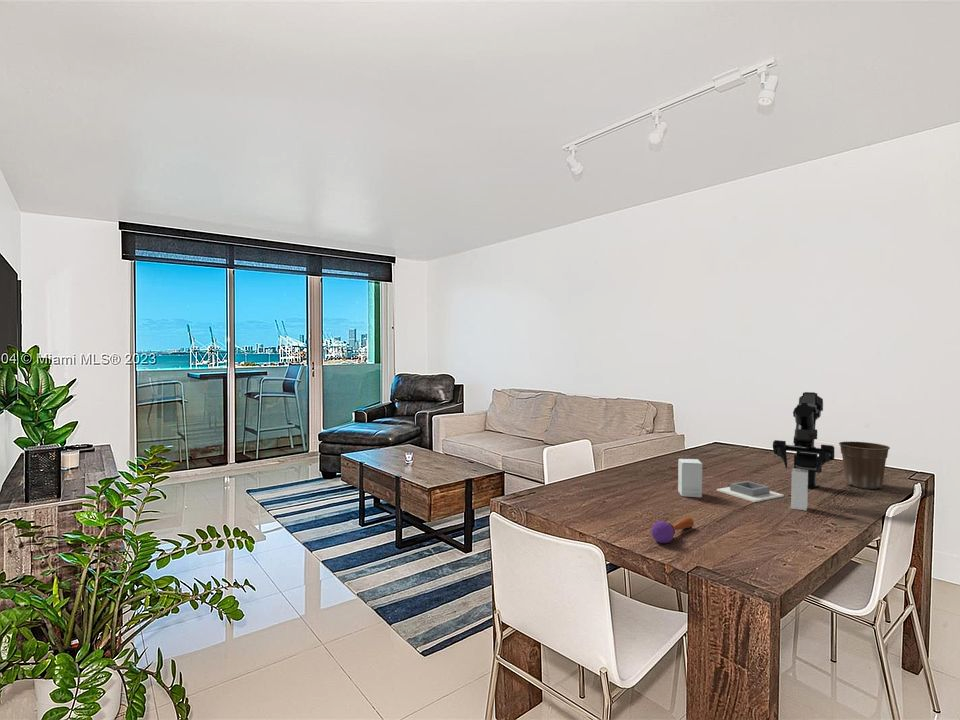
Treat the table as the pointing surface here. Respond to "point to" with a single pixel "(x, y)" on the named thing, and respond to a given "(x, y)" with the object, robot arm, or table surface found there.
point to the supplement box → (690, 477)
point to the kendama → (669, 529)
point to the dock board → (750, 491)
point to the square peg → (799, 489)
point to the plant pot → (864, 464)
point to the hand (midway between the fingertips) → (801, 469)
